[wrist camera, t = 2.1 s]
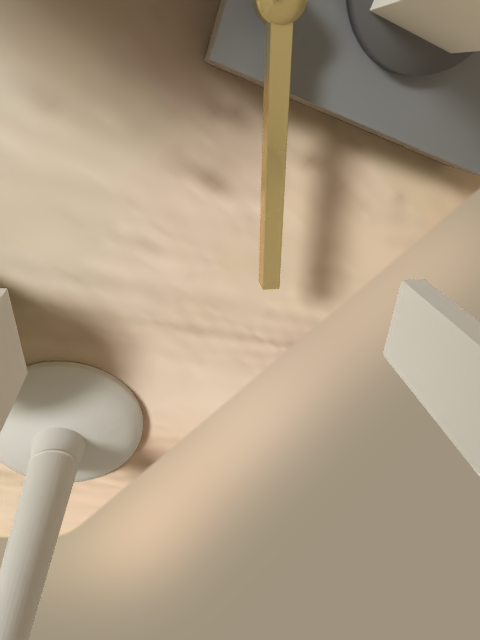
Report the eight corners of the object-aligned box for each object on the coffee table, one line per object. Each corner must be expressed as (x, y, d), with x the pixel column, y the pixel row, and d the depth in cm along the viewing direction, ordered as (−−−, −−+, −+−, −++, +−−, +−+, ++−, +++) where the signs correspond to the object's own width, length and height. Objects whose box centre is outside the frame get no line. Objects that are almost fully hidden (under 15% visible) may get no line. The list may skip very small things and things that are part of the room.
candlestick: (-55, 398, 33) (-831, 1540, 7) (96, 337, 32) (-158, 1334, 7) (40, 494, 40) (-190, 1273, 14) (167, 445, 39) (176, 1160, 13)
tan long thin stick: (252, -33, 19) (259, -41, 18) (301, -32, 19) (310, -39, 18) (248, 281, 26) (253, 291, 25) (283, 278, 26) (289, 288, 25)
